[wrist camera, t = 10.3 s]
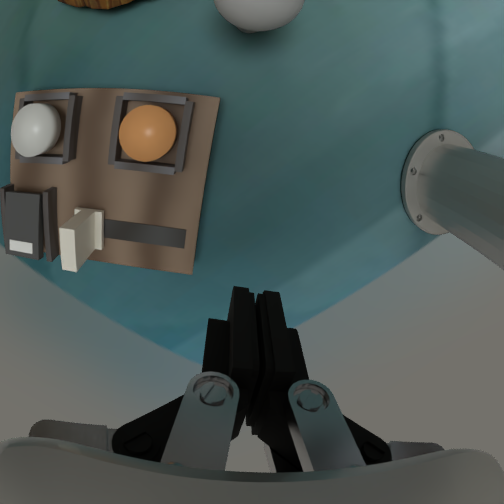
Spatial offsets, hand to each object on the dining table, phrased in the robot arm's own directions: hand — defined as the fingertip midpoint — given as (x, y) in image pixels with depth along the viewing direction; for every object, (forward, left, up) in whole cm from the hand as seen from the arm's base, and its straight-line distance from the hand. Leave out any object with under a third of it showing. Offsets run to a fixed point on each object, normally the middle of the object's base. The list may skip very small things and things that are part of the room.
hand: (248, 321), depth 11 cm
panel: (+12, -1, -19) cm, 23 cm away
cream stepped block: (+13, +4, -16) cm, 21 cm away
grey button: (+17, -5, -14) cm, 23 cm away
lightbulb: (+1, -17, -19) cm, 25 cm away
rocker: (+19, +4, -15) cm, 25 cm away
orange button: (+7, -5, -16) cm, 18 cm away
